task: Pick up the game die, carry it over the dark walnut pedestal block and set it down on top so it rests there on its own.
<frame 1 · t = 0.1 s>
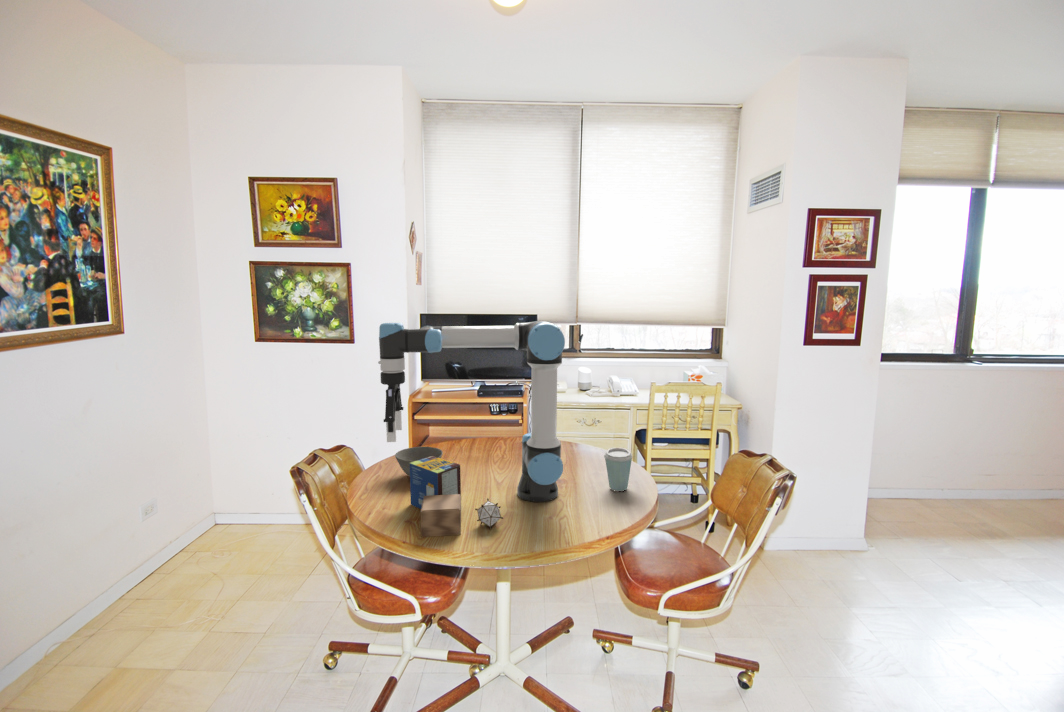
hand: (394, 435, 162), 28 cm above the table, fingers open, 13 cm apart
game die: (489, 526, 159), on the table
walnut block: (442, 526, 158), on the table
bowl: (420, 477, 201), on the table
protein box: (435, 506, 174), on the table
disposable coffee cup: (617, 489, 189), on the table
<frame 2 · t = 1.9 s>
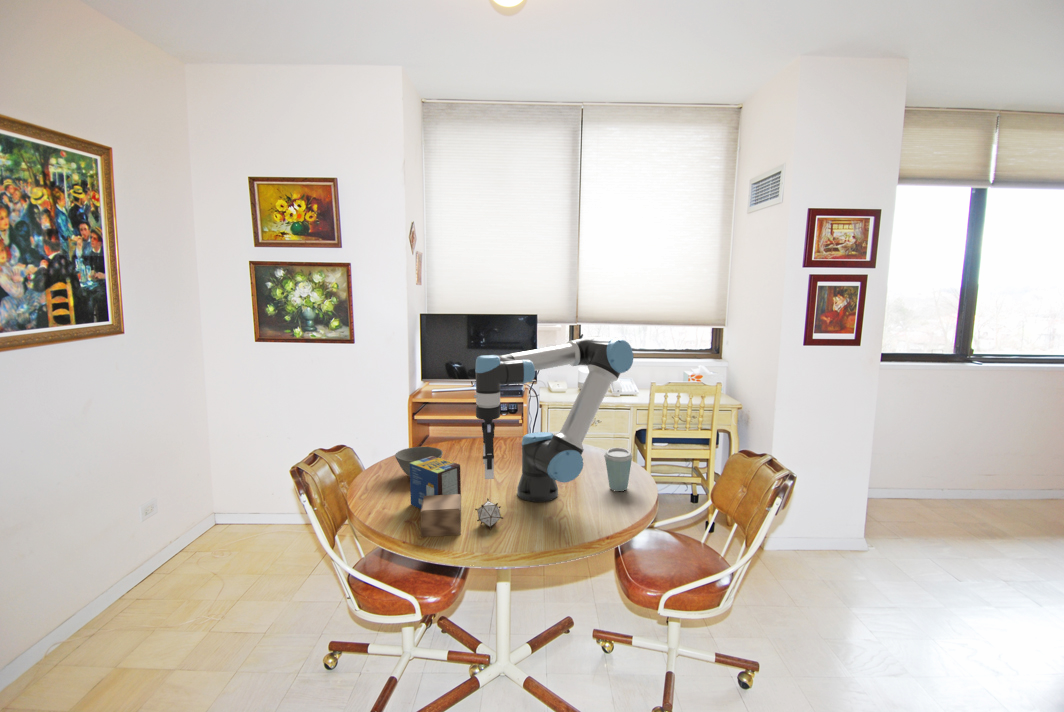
hand: (488, 470, 157), 18 cm above the table, fingers open, 13 cm apart
nothing on the table moved.
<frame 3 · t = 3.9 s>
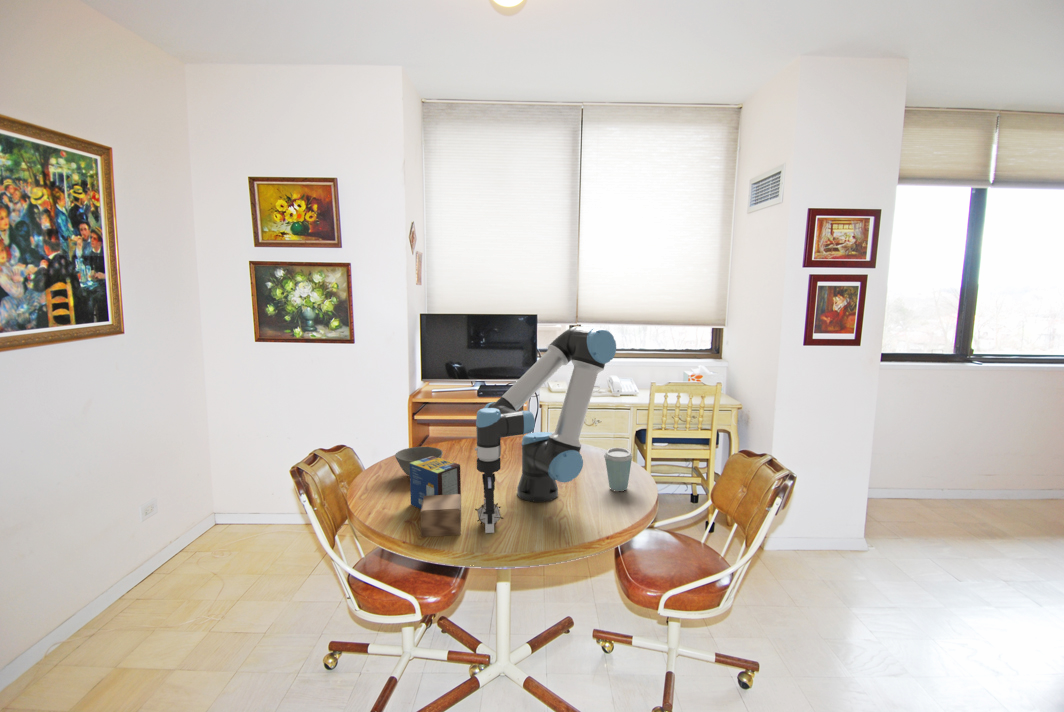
hand: (489, 524, 159), 0 cm above the table, fingers closed on game die, 9 cm apart
game die: (489, 526, 159), on the table, touching gripper
everything else where it was.
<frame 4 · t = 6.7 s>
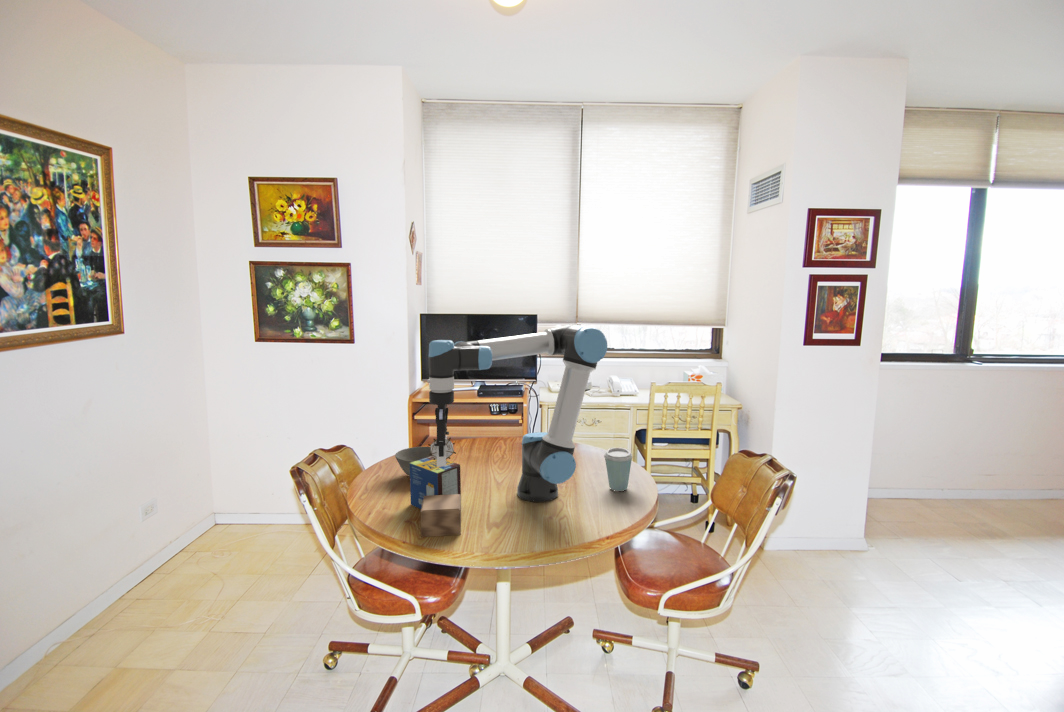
hand: (442, 460, 156), 22 cm above the table, fingers closed on game die, 9 cm apart
game die: (442, 461, 156), point 22 cm above the table, touching gripper
everything else where it was.
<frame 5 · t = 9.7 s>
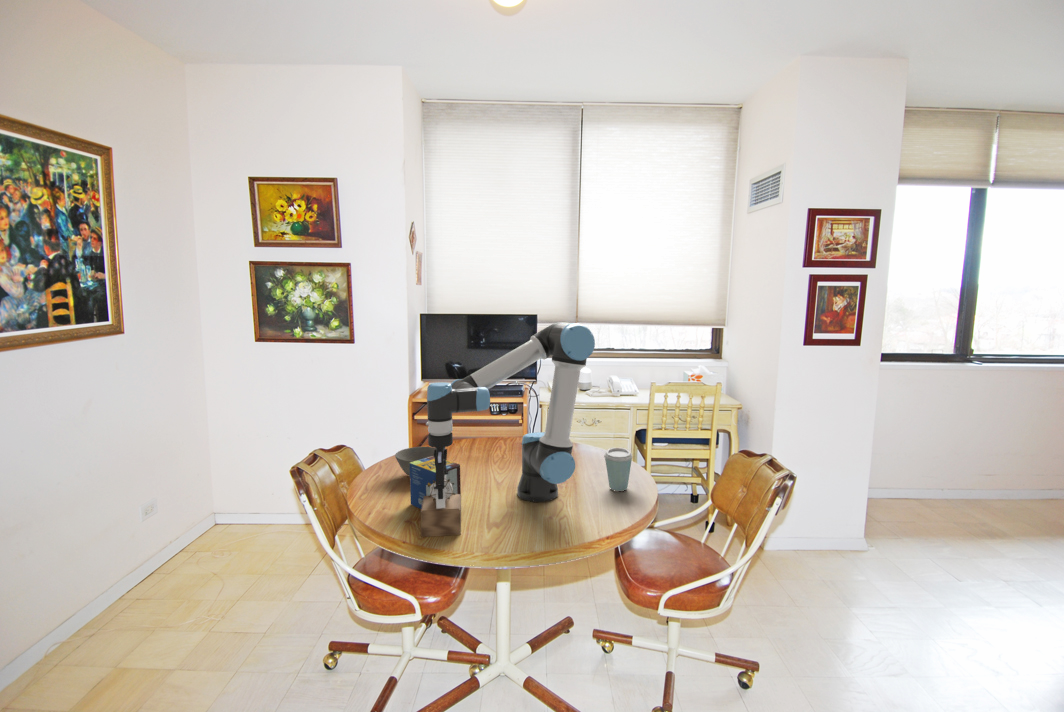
hand: (441, 501, 157), 9 cm above the table, fingers closed on game die, 9 cm apart
game die: (441, 502, 157), point 8 cm above the table, touching gripper
protein box: (435, 506, 174), on the table, touching gripper
everything else where it was.
when the fingers open (9 cm above the table, at t = 9.7 s): game die stays where it is, resting on walnut block.
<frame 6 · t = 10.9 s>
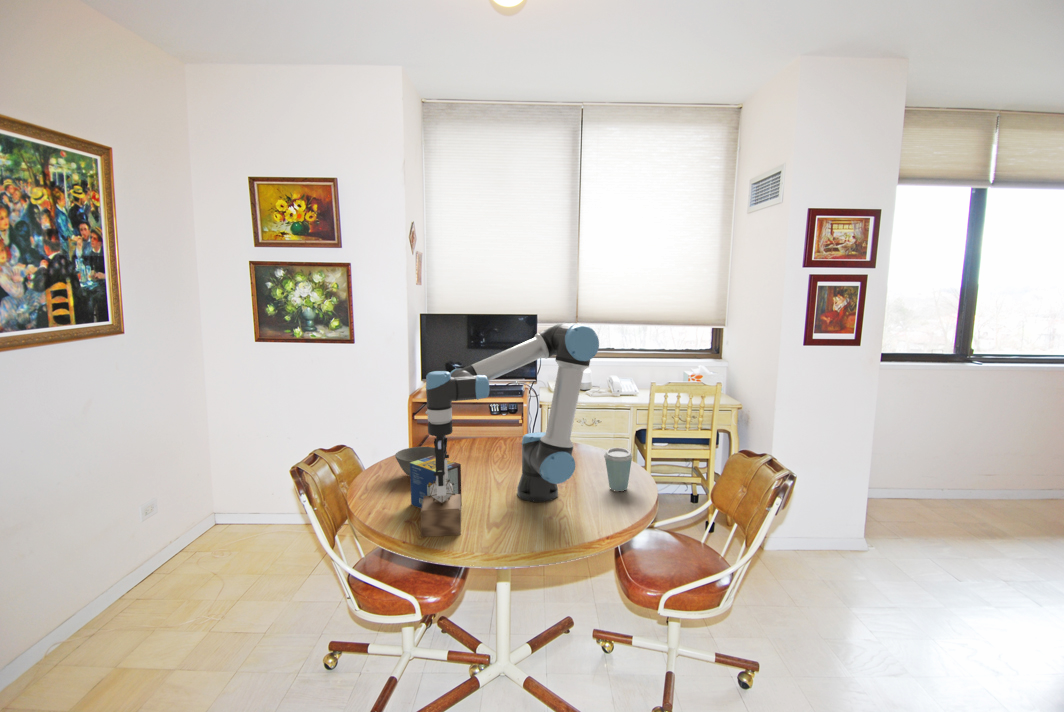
hand: (442, 486, 157), 13 cm above the table, fingers open, 13 cm apart
game die: (441, 502, 157), point 8 cm above the table, touching walnut block
protein box: (436, 506, 174), on the table
everything else where it was.
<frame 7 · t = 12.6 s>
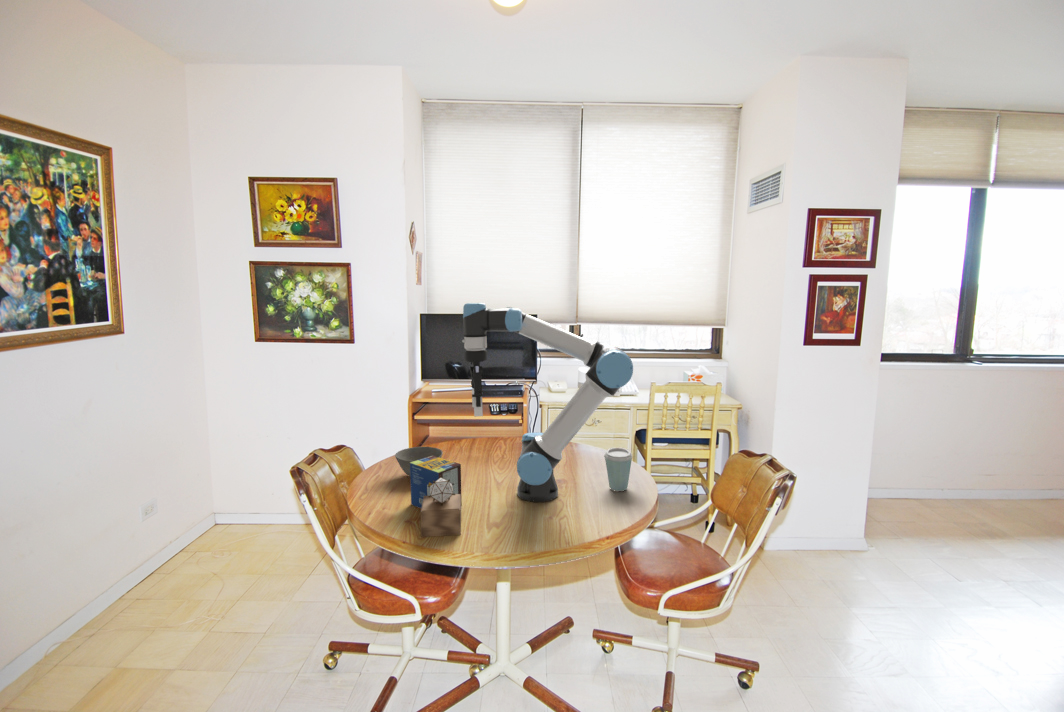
hand: (477, 411, 169), 34 cm above the table, fingers open, 13 cm apart
nothing on the table moved.
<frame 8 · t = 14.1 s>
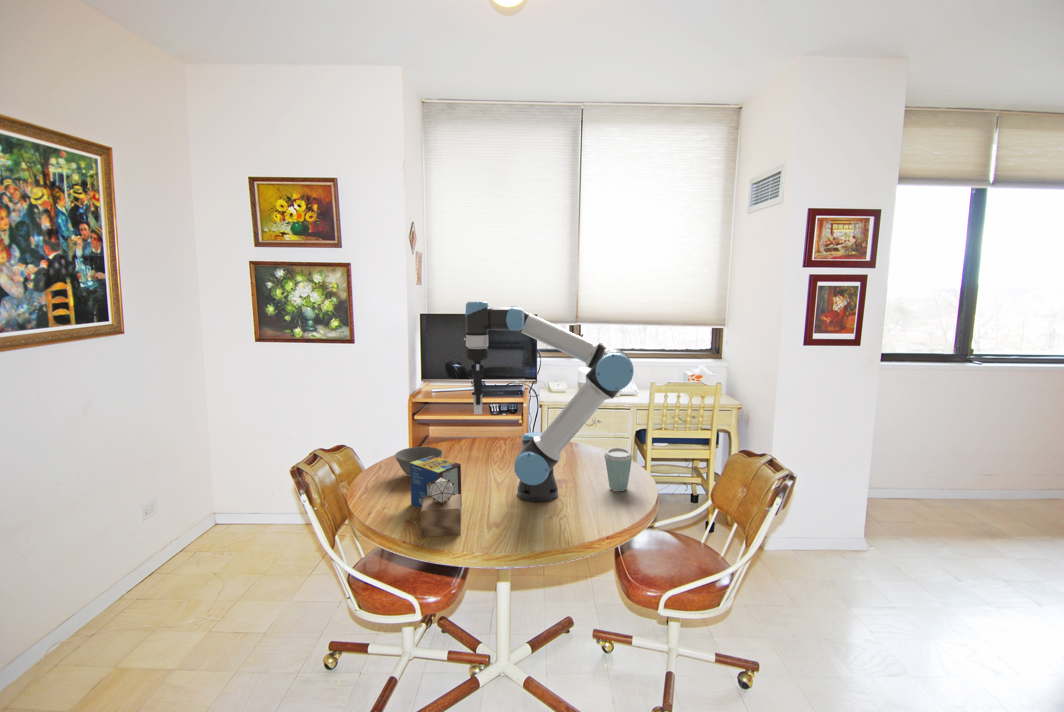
hand: (477, 409, 169), 35 cm above the table, fingers open, 13 cm apart
nothing on the table moved.
at the end: game die inside the target area on the walnut block (0.3 cm from its centre), point 8.1 cm above the walnut block's base; game die tilted 0°; the gripper is holding nothing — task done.
